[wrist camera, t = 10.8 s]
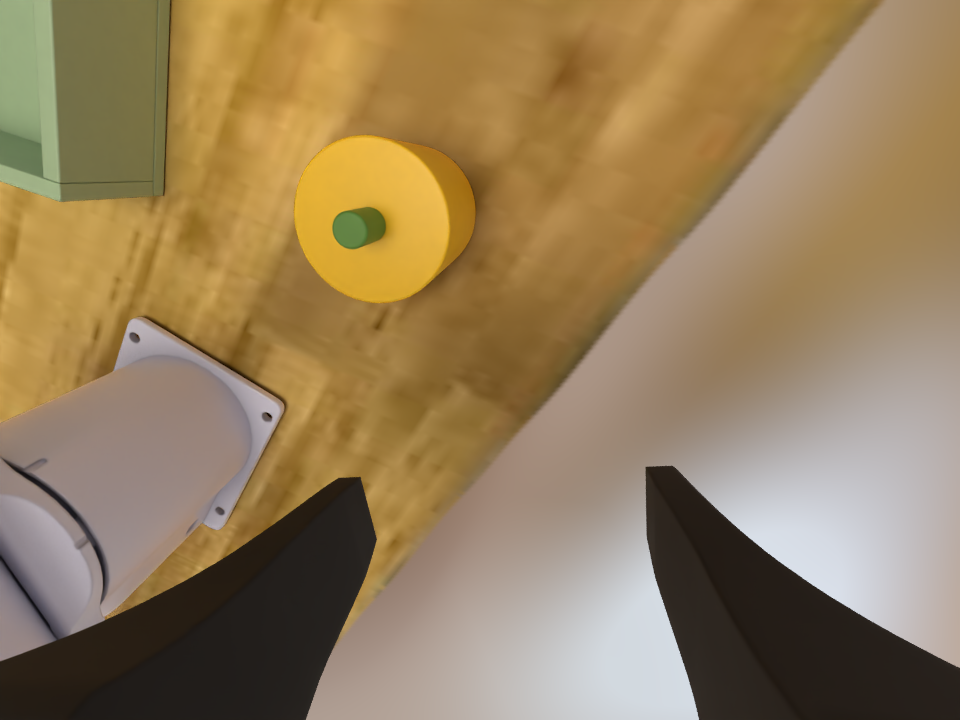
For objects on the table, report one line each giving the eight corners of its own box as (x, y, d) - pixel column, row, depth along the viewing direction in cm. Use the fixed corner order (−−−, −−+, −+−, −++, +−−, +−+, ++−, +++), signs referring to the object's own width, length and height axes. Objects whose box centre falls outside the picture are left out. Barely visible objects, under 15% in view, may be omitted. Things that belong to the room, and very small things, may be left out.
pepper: (437, 294, 20) (385, 349, 14) (338, 229, 20) (238, 256, 13) (499, 191, 18) (472, 201, 12) (392, 118, 18) (305, 88, 11)
